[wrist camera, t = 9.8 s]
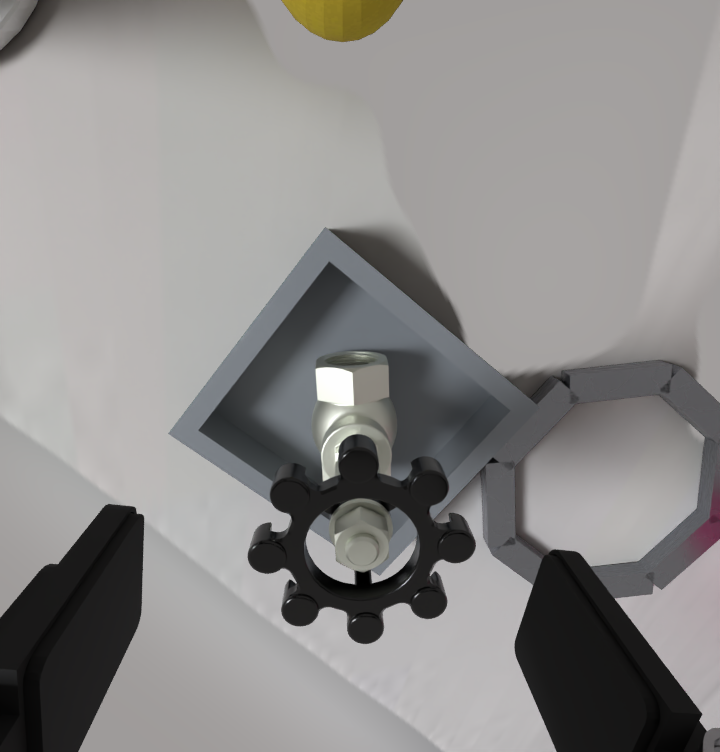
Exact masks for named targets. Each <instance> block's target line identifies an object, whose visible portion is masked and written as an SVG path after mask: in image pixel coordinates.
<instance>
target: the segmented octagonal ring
mask: <svg viewBox="0 0 720 752" xmlns="http://www.w3.org/2000/svg"><path fill="white" fill-rule="evenodd" d="M650 395H659V396H660V397H662V398H663V399H664V400H665V401H666V402H667V403H668V404H669V405H670V406H671V407H673V408H674V409H675V410H676V411H677V412H678V413H679V414H680V415H681V416H682V417H683V418H685V419H686V420H687V421H688V422H689V423H690V424H691V425H692V426H693V427H695V428H696V429H697V430H698V431H699V432H700V433H701V434H702V435H703V436H704V437H705V442H704V451H703V460H702V469H701V478H700V487H699V496H698V505H697V510H695V511H694V512H693V513H692V514H691V515H690V516H689V517H688V518H687V519H685V520H684V521H683V522H682V523H681V524H680V525H679V526H678V527H677V528H676V529H674V530H673V531H672V532H671V533H670V534H669V535H668V536H667V537H666V538H664V539H663V540H662V541H661V542H660V543H659V544H658V545H657V546H656V547H654V548H653V549H652V550H651V551H650V552H649V553H648V554H647V555H646V556H645V557H643V558H642V559H641V560H640V561H639V562H632V563H623V564H614V565H605V566H596V567H591V569H592V570H593V571H594V573H595V574H596V575H597V577H598V578H599V579H600V580H601V582H602V583H603V584H604V586H605V587H606V588H607V590H608V591H609V592H610V594H611V595H612V596H613V598H621V597H630V596H639V595H648V594H652V592H653V584H655V585H656V586H657V587H659V588H660V589H661V590H662V589H663V588H664V587H666V586H667V585H668V584H669V583H670V582H671V581H672V580H673V579H675V578H676V577H677V576H678V575H679V574H680V573H681V572H683V571H684V570H685V569H686V568H687V567H688V566H689V565H691V564H692V563H693V562H694V561H695V560H696V559H697V558H699V557H700V556H701V555H702V554H703V553H704V552H705V551H707V550H708V549H709V548H710V547H711V546H712V545H713V544H714V543H716V542H717V541H718V540H719V539H720V403H719V402H718V401H717V400H716V399H715V398H714V397H713V396H712V395H711V394H709V393H708V392H707V391H706V390H705V389H704V388H703V387H702V386H701V385H700V384H699V383H698V382H697V381H696V380H695V379H694V378H693V377H692V376H690V375H689V374H688V373H687V372H686V371H685V370H684V369H683V368H682V367H679V366H676V365H674V364H671V363H666V362H664V361H661V360H655V361H646V362H637V363H628V364H618V365H609V366H600V367H590V368H581V369H572V370H563V371H562V382H560V381H559V380H558V379H556V378H555V377H553V376H551V377H550V378H549V379H548V380H547V381H546V382H545V383H544V384H543V385H542V386H541V388H540V389H539V390H538V391H537V392H536V393H535V394H534V395H533V396H532V397H531V398H530V399H531V400H532V401H533V402H534V403H535V404H537V405H538V406H539V407H540V408H539V409H538V410H537V411H536V412H535V413H534V415H533V416H532V417H531V418H530V419H529V420H528V421H527V422H526V423H525V424H524V425H523V426H522V427H521V428H520V429H519V430H518V431H517V432H516V433H515V434H514V435H513V437H512V438H511V439H510V440H509V441H508V442H507V443H506V444H505V445H504V446H503V447H502V448H501V449H500V450H499V451H498V452H497V453H496V454H495V455H494V456H493V457H492V458H491V460H490V461H489V462H488V463H487V464H486V465H485V466H484V467H483V468H482V469H481V481H482V511H483V538H484V540H485V542H486V544H487V546H488V548H489V549H490V551H491V553H492V555H493V556H494V557H496V558H497V559H498V560H500V561H501V562H502V563H504V564H505V565H506V566H508V567H509V568H511V569H512V570H513V571H515V572H516V573H517V574H519V575H520V576H522V577H523V578H524V579H526V580H527V581H528V582H530V583H531V584H533V585H534V582H535V579H536V576H537V573H538V570H539V567H540V564H541V561H542V559H543V557H544V555H543V554H541V553H540V552H539V551H537V550H536V549H535V548H533V547H532V546H531V545H529V544H528V543H527V542H525V541H524V540H523V539H521V538H520V537H519V536H518V535H516V534H515V466H516V465H517V464H518V462H519V461H520V460H521V459H522V458H523V457H524V456H525V455H526V454H527V453H528V452H529V451H530V450H531V449H532V448H533V447H534V446H535V445H536V444H537V443H538V442H539V441H540V440H541V439H542V438H543V437H544V436H545V435H546V434H547V433H548V432H549V431H550V430H551V429H552V428H553V427H554V426H555V424H556V423H557V422H558V421H559V420H560V419H561V418H562V417H563V416H564V415H565V414H566V413H567V412H568V411H569V410H570V409H571V408H572V407H573V406H574V405H575V404H576V403H585V402H595V401H604V400H613V399H622V398H632V397H641V396H650Z"/></svg>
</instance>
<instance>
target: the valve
mask: <svg viewBox="0 0 720 752" xmlns="http://www.w3.org/2000/svg"><path fill="white" fill-rule="evenodd" d="M316 384H317V399H318V400H317V402H316V404H315V407H314V410H313V415H312V423H311V426H312V434H313V438H314V442H315V444H316V446H317V448H318V450H319V452H320V453H321V462H322V474H323V482H322V483H320V484H318V485H315V484H313V483H311V482H310V480H309V479H308V478H307V476H306V475H305V472H306V467H304V466H303V465H301V464H298V463H287V464H285V465H283V466H281V467H280V468H279V469H278V470H277V471H276V473H275V475H274V479H273V482H272V485H271V489H270V494H269V495H270V501H271V503H272V504H273V506H274V507H275V508H276V509H278V510H279V511H281V512H284V513H289V514H290V516H291V520H290V523H289V527H288V528H287V529H286V530H285V531H283V532H273V531H271V528H272V524H271V522H270V523H265V524H262V525H260V526H259V527H258V528H257V529H256V530H255V532H254V535H253V538H252V541H251V544H250V548H249V551H248V561H249V563H250V565H251V566H252V568H253V569H255V570H256V571H258V572H261V573H265V574H269V573H274V572H277V571H279V570H280V569H281V568H282V569H286V570H288V571H290V572H291V574H292V575H293V577H294V579H295V580H296V582H297V584H295V583H294V582H293V581H292V580H289V581H288V582H287V584H286V586H285V590H284V596H283V602H282V608H281V612H282V616H283V618H284V619H285V620H286V621H287V622H288V623H289V624H291V625H294V626H306V625H309V624H310V623H312V622H313V621H314V620H315V619H316V618H317V616H318V613H319V611H320V610H321V609H322V608H325V607H332V608H335V609H339V610H342V611H344V612H346V613H347V631H348V634H349V636H350V637H351V638H352V639H353V640H354V641H355V642H358V643H361V644H369V643H372V642H375V641H376V640H378V639H379V638H380V637H381V635H382V634H383V631H384V623H383V613H382V612H383V611H384V610H385V609H386V608H388V607H391V606H393V605H396V604H398V603H406V604H408V605H410V606H411V609H412V611H413V612H414V613H415V615H417V616H418V617H420V618H424V619H432V618H435V617H438V616H439V615H441V614H442V613H443V612H444V611H445V609H446V607H447V597H446V593H445V590H444V587H443V583H442V580H441V577H440V575H439V574H438V573H437V572H436V571H435V572H434V573H433V574H432V575H431V576H430V573H431V571H432V569H433V567H434V565H435V564H436V563H437V562H438V561H440V560H445V561H447V562H450V563H461V562H464V561H466V560H467V559H469V558H470V557H471V556H472V555H473V553H474V551H475V547H476V543H475V539H474V537H473V534H472V532H471V530H470V528H469V525H468V523H467V521H466V520H465V518H464V517H462V516H461V515H459V514H456V513H449V520H450V522H447V523H443V524H441V523H437V522H435V521H434V520H433V518H432V515H431V513H430V508H431V506H434V505H436V504H439V503H440V502H442V501H443V500H444V499H445V498H446V496H447V494H448V492H449V482H448V479H447V477H446V475H445V473H444V470H443V468H442V466H441V464H440V463H439V462H438V461H437V460H436V459H434V458H432V457H428V456H422V457H418V458H416V459H414V460H413V461H411V462H410V464H411V467H412V470H411V472H410V473H409V475H408V477H407V478H406V479H404V480H402V481H400V480H398V479H396V478H394V477H391V460H392V451H391V448H392V447H393V444H394V441H395V438H396V434H397V416H396V412H395V408H394V405H393V403H392V401H391V399H390V398H389V366H388V361H387V357H386V356H385V355H383V354H380V353H376V352H370V351H344V352H336V353H331V354H327V355H324V356H321V357H319V358H318V359H317V360H316ZM396 507H397V508H398V509H400V510H401V511H402V512H404V513H405V514H406V515H407V516H408V517H409V519H410V520H411V521H412V523H413V524H414V526H415V528H416V530H417V541H416V546H415V550H414V552H413V554H412V556H411V558H410V560H409V561H408V562H407V563H406V565H405V566H404V567H403V568H402V569H401V570H400V571H399V572H397V573H396V574H395V575H393V576H391V577H389V578H388V579H385V580H383V581H380V582H376V583H372V579H371V569H373V568H375V567H377V566H378V565H380V564H382V563H383V562H384V561H386V560H387V559H388V558H389V542H390V540H391V537H392V533H393V525H392V520H391V514H390V511H391V510H393V509H395V508H396ZM322 512H326V513H328V514H330V523H329V535H330V539H331V541H332V543H333V545H334V546H335V553H336V561H337V562H339V563H340V564H342V565H344V566H346V567H348V568H350V569H353V570H354V572H355V584H348V583H343V582H340V581H337V580H335V579H333V578H331V577H329V576H327V575H326V574H324V573H323V572H322V571H321V570H320V569H319V568H318V567H317V566H316V565H315V564H314V562H313V560H312V559H311V557H310V555H309V553H308V550H307V546H306V536H307V532H308V530H309V528H310V526H311V525H312V523H313V522H314V521H315V519H316V518H317V517H318V516H319V515H320V514H321V513H322Z"/></svg>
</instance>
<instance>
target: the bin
mask: <svg viewBox="0 0 720 752" xmlns="http://www.w3.org/2000/svg"><path fill="white" fill-rule="evenodd" d="M344 351H370V352H376V353H380V354H383V355H385V356H386V357H387V361H388V366H389V398H390V399H391V401H392V403H393V405H394V408H395V412H396V416H397V434H396V438H395V441H394V444H393V447H392V448H391V451H392V460H391V477H394V478H396V479H398V480H400V481H402V480H404V479H406V478H407V477H408V475H409V473H410V472H411V470H412V467H411V464H410V462H411V461H413V460H414V459H416V458H418V457H422V456H428V457H432V458H434V459H436V460H437V461H438V462H439V463H440V464H441V466H442V468H443V470H444V473H445V475H446V477H447V479H448V482H449V492H448V494H447V496H446V498H445V499H444V500H443V501H442V502H440V503H439V504H436V505H434V506H431V508H430V513H431V515H432V518H433V519H434V518H435V517H436V516H437V515H438V514H439V513H440V512H441V511H442V510H443V509H444V508H445V507H446V506H447V505H448V503H449V502H450V501H451V500H452V499H453V498H454V497H455V496H456V495H457V494H458V493H459V492H460V491H461V490H462V489H463V488H464V487H465V486H466V485H467V484H468V483H469V482H470V480H471V479H472V478H473V477H474V476H475V475H476V474H477V473H478V472H479V471H480V470H481V469H482V468H483V467H484V466H485V465H486V464H487V463H488V462H489V461H490V460H491V458H492V457H493V456H494V455H495V454H496V453H497V452H498V451H499V450H500V449H501V448H502V447H503V446H504V445H505V444H506V443H507V442H508V441H509V440H510V439H511V438H512V437H513V435H514V434H515V433H516V432H517V431H518V430H519V429H520V428H521V427H522V426H523V425H524V424H525V423H526V422H527V421H528V420H529V419H530V418H531V417H532V416H533V415H534V413H535V412H536V411H537V410H538V409H539V408H540V407H539V406H538V405H537V404H535V403H534V402H533V401H532V400H531V399H530V398H528V397H527V396H526V395H525V394H524V393H522V392H521V391H520V390H519V389H518V388H517V387H515V386H514V385H513V384H512V383H511V382H509V381H508V380H507V379H506V378H505V377H503V376H502V375H501V374H500V373H499V372H498V371H496V370H495V369H494V368H493V367H492V366H490V365H489V364H488V363H487V362H486V361H484V360H483V359H482V358H481V357H480V356H478V355H477V354H476V353H475V352H474V351H473V350H471V349H470V348H469V347H468V346H467V345H465V344H464V343H463V342H462V341H461V340H459V339H458V338H457V337H456V336H455V335H453V334H452V333H451V332H450V331H449V330H448V329H446V328H445V327H444V326H443V325H442V324H440V323H439V322H438V321H437V320H436V319H434V318H433V317H432V316H431V315H430V314H428V313H427V312H426V311H425V310H424V309H423V308H421V307H420V306H419V305H418V304H417V303H415V302H414V301H413V300H412V299H411V298H409V297H408V296H407V295H406V294H405V293H403V292H402V291H401V290H400V289H399V288H398V287H396V286H395V285H394V284H393V283H392V282H390V281H389V280H388V279H387V278H386V277H384V276H383V275H382V274H381V273H380V272H378V271H377V270H376V269H375V268H374V267H372V266H371V265H370V264H369V263H368V262H367V261H365V260H364V259H363V258H362V257H361V256H359V255H358V254H357V253H356V252H355V251H353V250H352V249H351V248H350V247H349V246H347V245H346V244H345V243H344V242H343V241H342V240H340V239H339V238H338V237H337V236H336V235H334V234H333V233H332V232H331V231H330V230H328V229H327V228H326V227H325V228H324V229H323V231H322V232H321V233H320V235H319V236H318V237H317V239H316V240H315V241H314V242H313V244H312V245H311V246H310V248H309V249H308V250H307V252H306V253H305V254H304V256H303V257H302V258H301V260H300V261H299V262H298V264H297V265H296V266H295V267H294V269H293V270H292V271H291V273H290V274H289V275H288V277H287V278H286V279H285V281H284V282H283V283H282V285H281V286H280V287H279V289H278V290H277V291H276V293H275V294H274V295H273V296H272V298H271V299H270V300H269V302H268V303H267V304H266V306H265V307H264V308H263V310H262V311H261V312H260V314H259V315H258V316H257V318H256V319H255V320H254V321H253V323H252V324H251V325H250V327H249V328H248V329H247V331H246V332H245V333H244V335H243V336H242V337H241V339H240V340H239V341H238V343H237V344H236V345H235V346H234V348H233V349H232V350H231V352H230V353H229V354H228V356H227V357H226V358H225V360H224V361H223V362H222V364H221V365H220V366H219V368H218V369H217V370H216V372H215V373H214V374H213V375H212V377H211V378H210V379H209V381H208V382H207V383H206V385H205V386H204V387H203V389H202V390H201V391H200V393H199V394H198V395H197V397H196V398H195V399H194V400H193V402H192V403H191V404H190V406H189V407H188V408H187V410H186V411H185V412H184V414H183V415H182V416H181V418H180V419H179V420H178V422H177V423H176V424H175V426H174V427H173V428H172V429H171V431H170V432H169V433H168V434H170V435H171V436H173V437H174V438H176V439H177V440H178V441H180V442H181V443H183V444H184V445H186V446H187V447H189V448H190V449H192V450H193V451H195V452H196V453H198V454H199V455H201V456H202V457H204V458H205V459H207V460H208V461H210V462H211V463H213V464H214V465H216V466H217V467H219V468H220V469H222V470H223V471H225V472H226V473H228V474H229V475H231V476H232V477H234V478H235V479H237V480H238V481H240V482H241V483H242V484H244V485H245V486H247V487H248V488H250V489H251V490H253V491H254V492H256V493H257V494H259V495H260V496H262V497H263V498H265V499H266V500H268V501H269V502H271V501H270V495H269V494H270V489H271V485H272V482H273V479H274V475H275V473H276V471H277V470H278V469H279V468H280V467H281V466H283V465H285V464H287V463H298V464H301V465H303V466H304V467H306V472H305V475H306V476H307V478H308V479H309V480H310V482H311V483H313V484H315V485H318V484H320V483H322V482H323V474H322V462H321V453H320V452H319V450H318V448H317V446H316V444H315V442H314V438H313V434H312V426H311V423H312V415H313V410H314V407H315V404H316V402H317V400H318V399H317V384H316V360H317V359H318V358H319V357H321V356H324V355H327V354H331V353H336V352H344ZM287 514H289V513H287ZM390 514H391V520H392V525H393V533H392V537H391V540H390V542H389V558H388V559H387V560H386V561H384V562H383V563H382V564H380V565H378V566H377V567H375V568H373V569H371V570H372V571H373V572H375V573H376V574H378V575H379V576H380V575H381V574H382V573H383V571H384V570H385V569H386V568H387V567H388V566H389V565H390V564H391V563H392V562H393V561H394V560H395V559H396V558H397V557H398V556H399V555H400V554H401V553H402V552H403V551H404V550H405V548H406V547H407V546H408V545H409V544H410V543H411V542H412V541H413V540H414V539H415V538H416V537H417V530H416V528H415V526H414V524H413V523H412V521H411V520H410V519H409V517H408V516H407V515H406V514H405V513H404V512H402V511H401V510H400V509H398V508H397V507H396V508H395V509H393V510H391V511H390ZM289 515H290V514H289ZM329 523H330V514H328V513H326V512H322V513H321V514H320V515H319V516H318V517H317V518H316V519H315V521H314V522H313V523H312V525H311V526H310V528H309V529H311V530H312V531H314V532H315V533H317V534H318V535H320V536H321V537H323V538H324V539H326V540H327V541H329V542H330V543H332V541H331V539H330V535H329ZM332 544H333V543H332Z"/></svg>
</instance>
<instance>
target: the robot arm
mask: <svg viewBox="0 0 720 752" xmlns="http://www.w3.org/2000/svg"><path fill="white" fill-rule="evenodd" d="M37 2H38V0H0V50H1V49H2V48H3V47H4V46H5V45H6V44H7V43H8V42H9V41H10V40H11V39H12V38H13V37H14V36H15V35H16V34H17V33H18V32H19V31H20V30H21V29H22V28H23V26H24V24H25V23H26V21H27V20H28V18H29V16H30V15H31V13H32V12H33V10H34V8H35V7H36V5H37ZM143 540H144V516H143V515H142V514H137V513H136V508H135V507H132V506H122V505H112V504H108V505H106V506H105V507H104V508H103V509H102V510H101V511H100V513H99V514H98V515H97V516H96V518H95V519H94V520H93V521H92V523H91V524H90V525H89V526H88V528H87V529H86V530H85V531H84V533H83V534H82V535H81V536H80V537H79V539H78V540H77V541H76V542H75V544H74V545H73V546H72V547H71V549H70V550H69V551H68V552H67V554H66V555H65V556H64V557H63V559H62V560H61V561H60V562H59V564H49V565H46V566H45V567H44V568H43V569H41V570H40V571H39V573H38V574H37V575H36V576H35V577H34V578H33V580H32V581H31V582H30V583H29V584H28V586H27V587H26V588H25V589H24V590H23V592H22V593H21V594H20V595H19V596H18V598H17V599H16V600H15V601H14V602H13V603H12V605H11V606H10V607H9V609H7V611H6V612H5V613H4V614H3V615H2V617H1V618H0V752H78V751H79V749H80V746H81V745H82V742H83V740H84V738H85V736H86V734H87V732H88V730H89V728H90V726H91V724H92V722H93V720H94V717H95V715H96V713H97V711H98V709H99V707H100V705H101V703H102V701H103V699H104V696H105V694H106V692H107V690H108V688H109V686H110V684H111V682H112V680H113V678H114V676H115V674H116V671H117V669H118V667H119V665H120V663H121V661H122V659H123V657H124V655H125V653H126V650H127V648H128V646H129V644H130V642H131V640H132V638H133V636H134V633H135V632H136V629H137V627H138V624H139V621H140V616H141V606H142V571H143ZM515 654H516V658H517V660H518V663H519V665H520V667H521V670H522V672H523V674H524V677H525V679H526V681H527V684H528V686H529V688H530V691H531V693H532V695H533V697H534V700H535V702H536V704H537V707H538V709H539V711H540V714H541V716H542V718H543V721H544V723H545V725H546V728H547V730H548V732H549V735H550V737H551V739H552V742H553V744H554V746H555V749H556V751H557V752H720V728H712V729H710V730H709V731H706V730H705V728H704V727H703V725H702V724H701V723H700V721H699V720H700V718H701V716H702V713H701V712H700V711H699V709H698V708H697V707H696V705H695V704H694V703H693V701H692V700H691V699H690V697H689V696H688V695H687V693H686V692H685V691H684V689H683V688H682V687H681V686H680V684H679V683H678V682H677V680H676V679H675V678H674V676H673V675H672V674H671V672H670V671H669V670H668V668H667V667H666V666H665V665H664V663H663V662H662V661H661V659H660V658H659V657H658V655H657V654H656V653H655V651H654V650H653V649H652V647H651V646H650V645H649V644H648V642H647V641H646V640H645V638H644V637H643V636H642V634H641V633H640V632H639V630H638V629H637V628H636V626H635V625H634V624H633V623H632V621H631V620H630V619H629V617H628V616H627V615H626V613H625V612H624V611H623V609H622V608H621V607H620V605H619V604H618V603H617V601H616V600H615V599H614V598H613V596H612V595H611V594H610V592H609V591H608V590H607V588H606V587H605V586H604V584H603V583H602V582H601V580H600V579H599V578H598V577H597V575H596V574H595V573H594V571H593V570H592V569H591V567H590V566H589V565H588V563H587V562H586V561H585V559H584V558H583V557H582V556H581V555H580V554H579V553H578V552H575V551H565V550H552V551H551V552H550V553H549V555H545V556H544V557H543V559H542V561H541V564H540V567H539V570H538V573H537V576H536V579H535V582H534V585H533V588H532V591H531V594H530V597H529V600H528V603H527V606H526V609H525V612H524V615H523V618H522V621H521V624H520V627H519V630H518V633H517V637H516V640H515Z"/></svg>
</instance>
